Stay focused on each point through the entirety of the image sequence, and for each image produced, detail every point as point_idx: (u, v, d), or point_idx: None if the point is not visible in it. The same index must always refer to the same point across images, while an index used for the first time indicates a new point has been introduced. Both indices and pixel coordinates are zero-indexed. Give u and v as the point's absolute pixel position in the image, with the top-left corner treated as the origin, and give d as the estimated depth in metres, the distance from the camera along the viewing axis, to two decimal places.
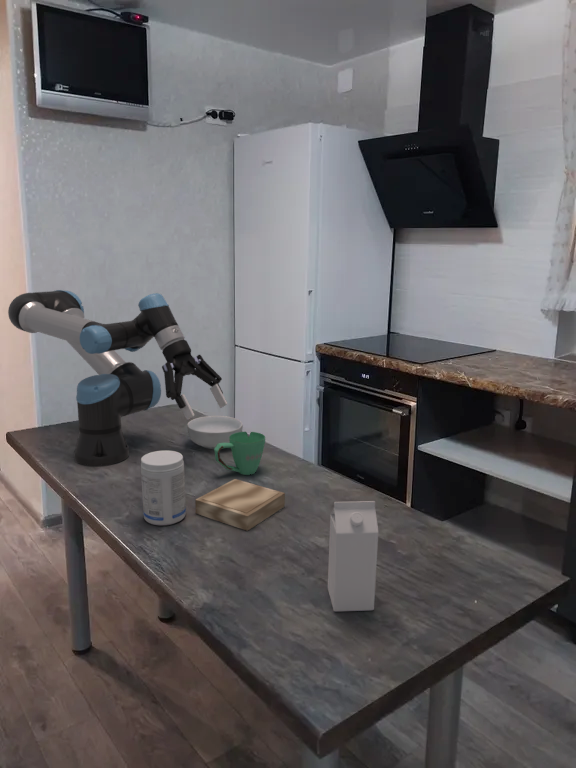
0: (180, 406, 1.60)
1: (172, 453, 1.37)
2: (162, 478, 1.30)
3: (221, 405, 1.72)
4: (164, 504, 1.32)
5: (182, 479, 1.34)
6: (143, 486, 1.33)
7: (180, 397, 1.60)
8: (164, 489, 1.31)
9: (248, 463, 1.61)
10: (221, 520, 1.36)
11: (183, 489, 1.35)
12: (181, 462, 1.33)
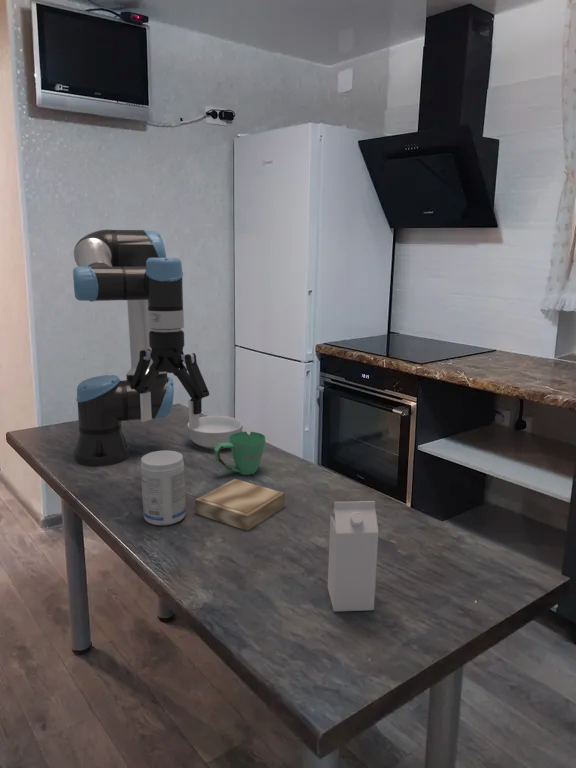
0: None
1: (172, 453, 1.37)
2: (162, 478, 1.30)
3: None
4: (164, 504, 1.32)
5: (182, 479, 1.34)
6: (143, 486, 1.33)
7: None
8: (164, 489, 1.31)
9: (248, 463, 1.61)
10: (221, 520, 1.36)
11: (183, 489, 1.35)
12: (181, 462, 1.33)
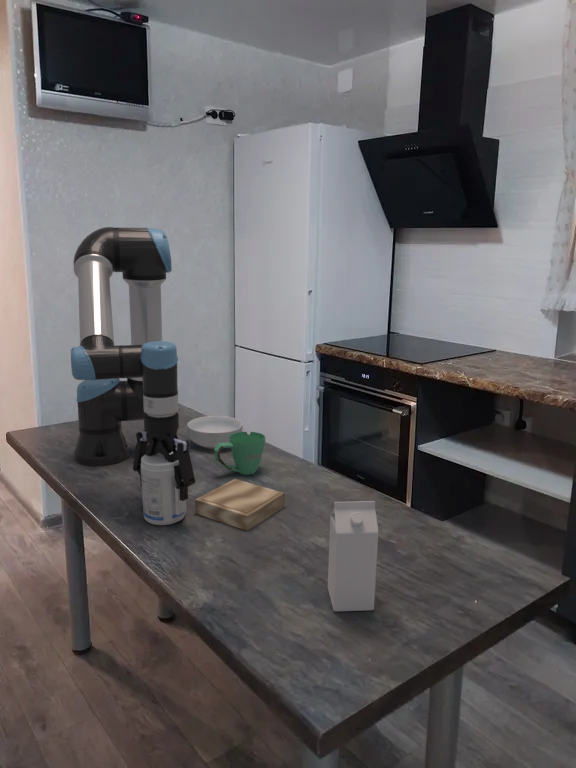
0: None
1: (172, 453, 1.37)
2: (162, 478, 1.30)
3: None
4: (164, 504, 1.32)
5: (182, 479, 1.34)
6: (143, 486, 1.33)
7: None
8: (164, 489, 1.31)
9: (248, 463, 1.61)
10: (221, 520, 1.36)
11: None
12: None
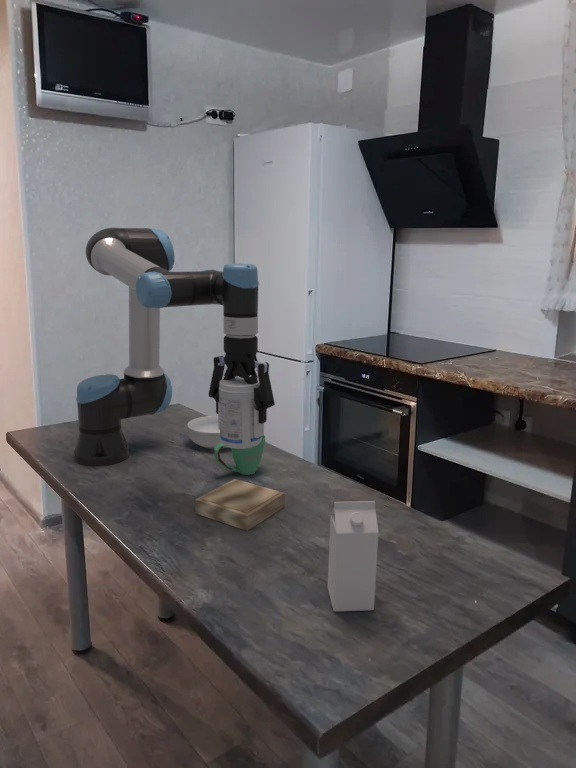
0: None
1: None
2: (243, 400, 1.31)
3: None
4: (244, 427, 1.32)
5: None
6: (222, 409, 1.33)
7: (218, 403, 1.39)
8: (244, 411, 1.32)
9: (248, 463, 1.61)
10: (221, 520, 1.36)
11: None
12: None
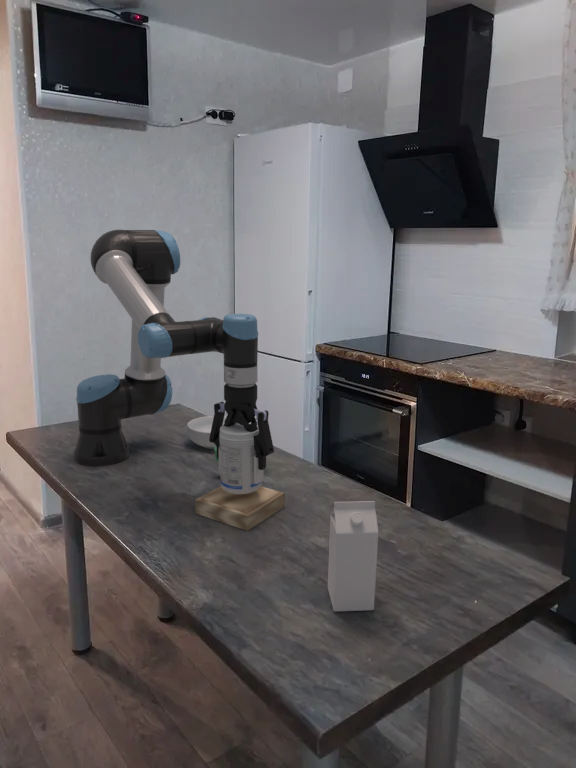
0: None
1: None
2: (243, 447, 1.33)
3: None
4: (244, 473, 1.35)
5: None
6: (222, 456, 1.36)
7: (218, 448, 1.41)
8: (244, 458, 1.34)
9: None
10: (221, 520, 1.36)
11: None
12: None
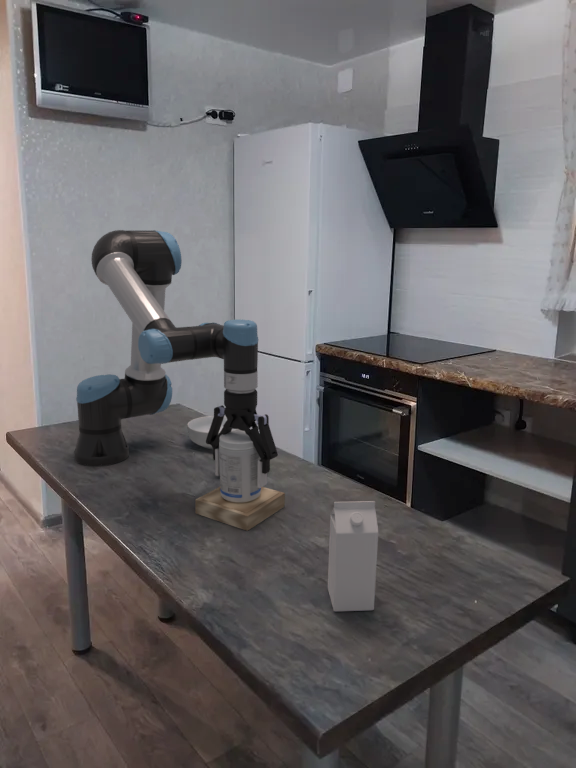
0: None
1: None
2: (242, 456, 1.34)
3: None
4: (243, 482, 1.36)
5: (259, 457, 1.38)
6: (222, 464, 1.37)
7: None
8: (243, 467, 1.35)
9: None
10: (221, 520, 1.36)
11: None
12: None
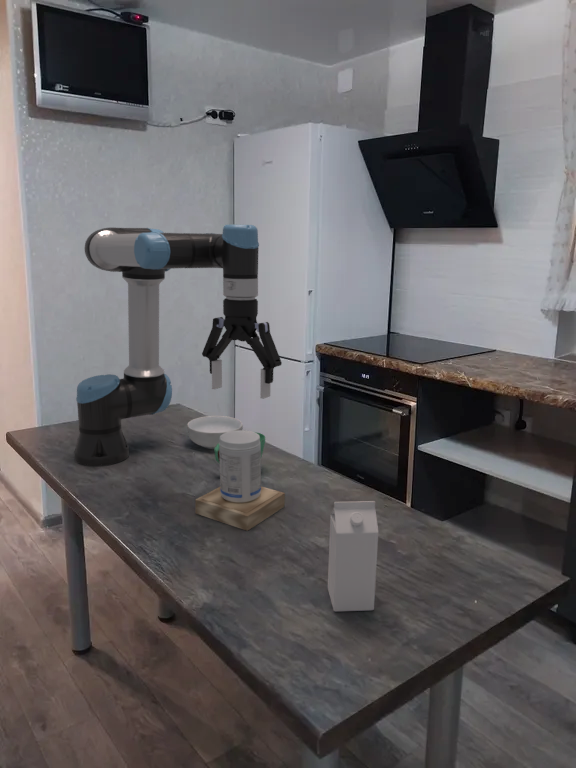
0: None
1: (248, 433, 1.40)
2: (242, 456, 1.34)
3: None
4: (243, 482, 1.36)
5: (259, 457, 1.38)
6: (222, 464, 1.37)
7: (212, 362, 1.37)
8: (244, 467, 1.35)
9: None
10: (221, 520, 1.36)
11: (260, 467, 1.39)
12: (259, 441, 1.37)
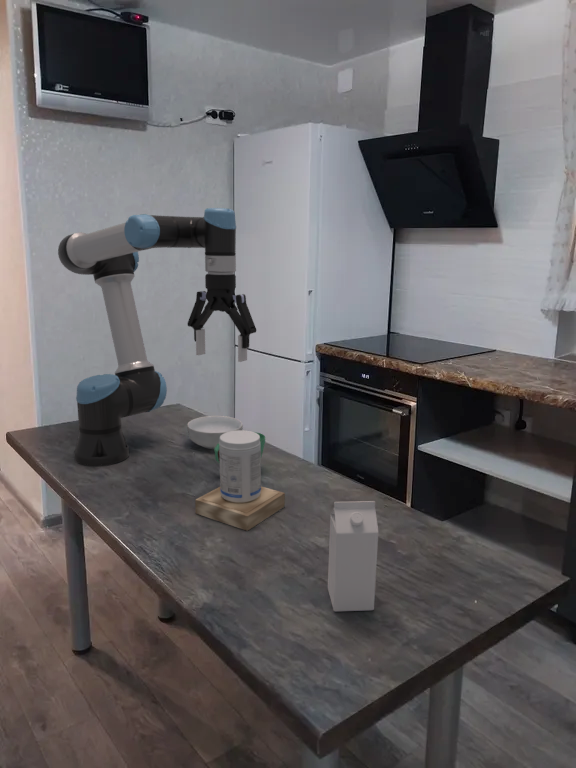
0: None
1: (248, 433, 1.40)
2: (242, 456, 1.34)
3: None
4: (243, 482, 1.36)
5: (259, 458, 1.38)
6: (222, 464, 1.37)
7: None
8: (244, 467, 1.35)
9: None
10: (221, 520, 1.36)
11: (260, 467, 1.39)
12: (259, 441, 1.37)
